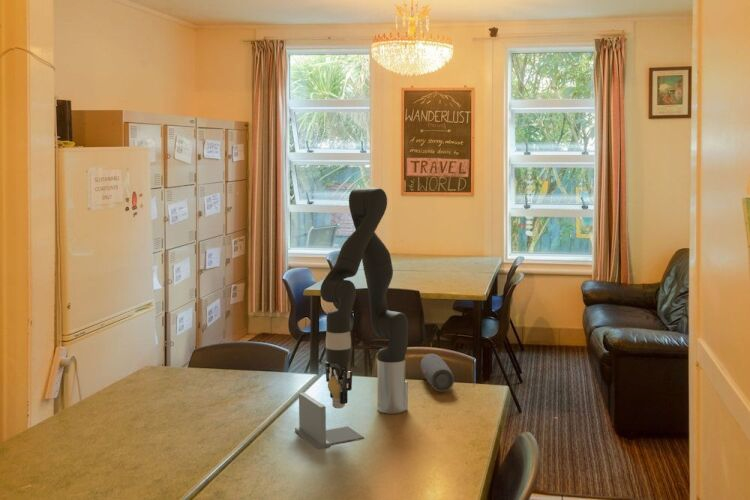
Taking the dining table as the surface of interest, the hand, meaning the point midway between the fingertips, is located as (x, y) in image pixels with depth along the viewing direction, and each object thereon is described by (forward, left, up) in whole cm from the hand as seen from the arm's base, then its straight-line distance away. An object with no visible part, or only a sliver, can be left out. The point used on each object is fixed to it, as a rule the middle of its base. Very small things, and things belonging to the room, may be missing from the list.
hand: (338, 400), depth 238 cm
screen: (+8, -2, -11) cm, 14 cm away
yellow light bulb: (0, 0, -2) cm, 2 cm away
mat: (0, 0, -11) cm, 11 cm away
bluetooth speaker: (-54, -30, -11) cm, 63 cm away
